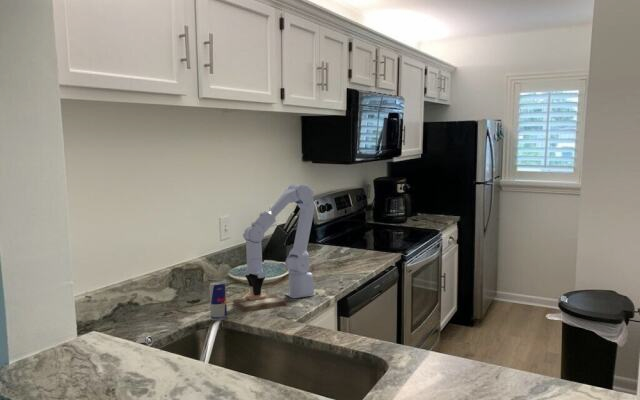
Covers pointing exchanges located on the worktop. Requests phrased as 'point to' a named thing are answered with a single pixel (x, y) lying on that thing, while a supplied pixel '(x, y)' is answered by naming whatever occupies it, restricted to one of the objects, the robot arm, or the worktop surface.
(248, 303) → the board
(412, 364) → the worktop surface
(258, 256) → the robot arm
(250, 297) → the peach plate with block
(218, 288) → the energy drink
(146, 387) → the worktop surface
